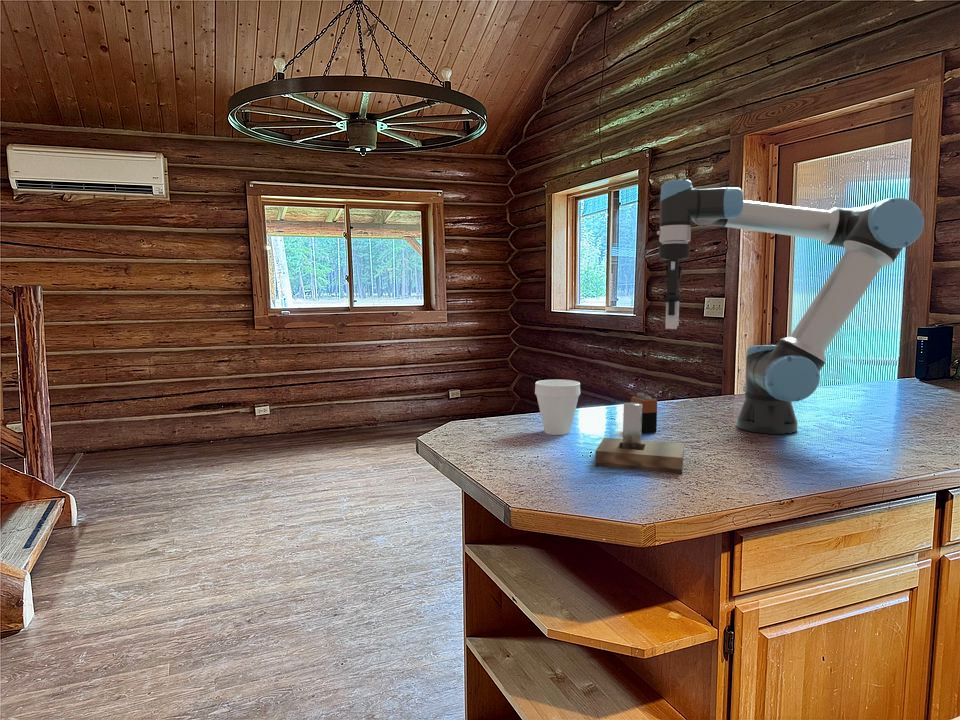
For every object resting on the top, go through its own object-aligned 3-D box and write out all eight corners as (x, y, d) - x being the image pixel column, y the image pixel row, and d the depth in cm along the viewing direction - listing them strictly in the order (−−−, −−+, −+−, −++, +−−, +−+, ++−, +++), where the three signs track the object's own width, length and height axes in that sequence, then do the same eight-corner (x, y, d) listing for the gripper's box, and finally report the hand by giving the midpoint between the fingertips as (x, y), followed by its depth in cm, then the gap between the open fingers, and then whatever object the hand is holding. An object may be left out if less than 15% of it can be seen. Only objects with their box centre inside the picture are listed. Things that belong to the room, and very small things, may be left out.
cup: (553, 425, 174) (554, 378, 173) (589, 431, 166) (589, 382, 164) (525, 432, 166) (525, 382, 164) (561, 439, 157) (561, 387, 156)
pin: (641, 455, 138) (643, 403, 136) (639, 460, 134) (641, 406, 133) (623, 453, 139) (624, 402, 138) (621, 458, 135) (622, 405, 134)
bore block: (683, 458, 139) (683, 443, 139) (682, 474, 127) (682, 457, 126) (603, 451, 145) (604, 437, 145) (595, 466, 133) (595, 450, 132)
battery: (643, 427, 171) (644, 392, 170) (657, 432, 164) (658, 396, 163) (629, 428, 170) (630, 393, 168) (643, 434, 163) (643, 397, 162)
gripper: (661, 247, 167) (659, 324, 170) (655, 240, 144) (653, 329, 146) (690, 246, 165) (688, 324, 167) (689, 239, 142) (686, 330, 144)
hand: (672, 327), depth 157 cm, fingers open, 13 cm apart
